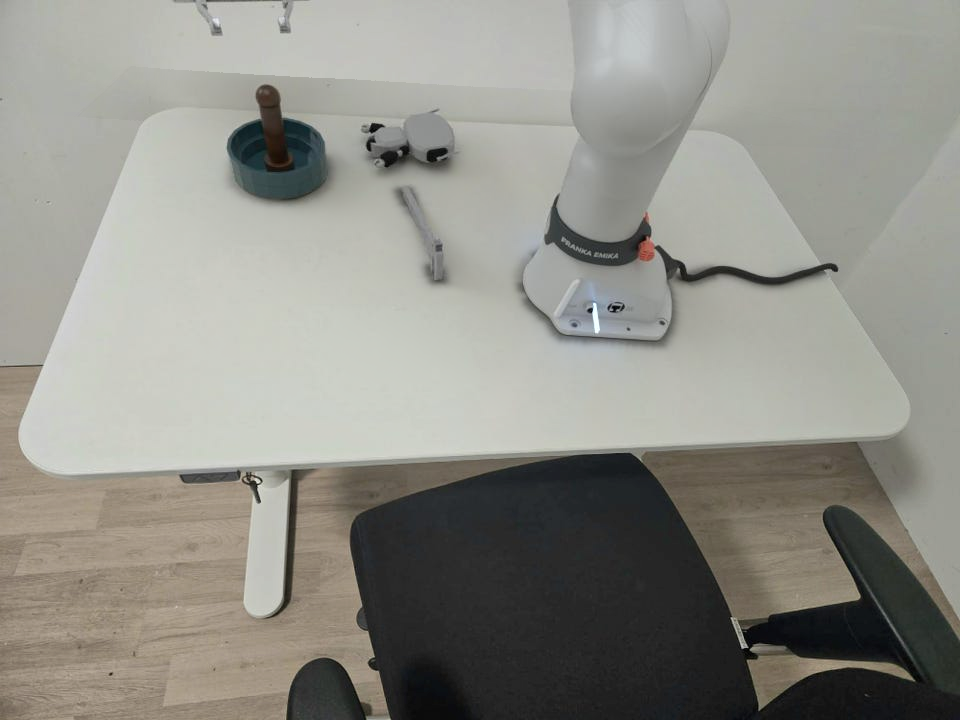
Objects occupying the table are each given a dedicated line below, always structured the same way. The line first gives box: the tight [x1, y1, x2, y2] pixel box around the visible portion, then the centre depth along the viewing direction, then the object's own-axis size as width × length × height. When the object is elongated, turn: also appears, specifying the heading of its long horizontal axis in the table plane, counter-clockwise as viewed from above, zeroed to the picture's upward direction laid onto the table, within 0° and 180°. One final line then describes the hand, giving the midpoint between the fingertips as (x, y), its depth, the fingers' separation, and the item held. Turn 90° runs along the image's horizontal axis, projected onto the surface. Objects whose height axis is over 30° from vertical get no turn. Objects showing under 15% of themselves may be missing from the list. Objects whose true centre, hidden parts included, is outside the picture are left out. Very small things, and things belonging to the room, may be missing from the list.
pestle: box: [254, 83, 295, 172], centre depth 85 cm, size 4×4×14 cm
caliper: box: [400, 187, 445, 281], centre depth 85 cm, size 20×1×6 cm, turn 18°
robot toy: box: [360, 107, 461, 169], centre depth 97 cm, size 12×4×15 cm
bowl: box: [226, 117, 328, 200], centre depth 89 cm, size 14×14×5 cm
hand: (251, 33), depth 83 cm, fingers open, 8 cm apart
